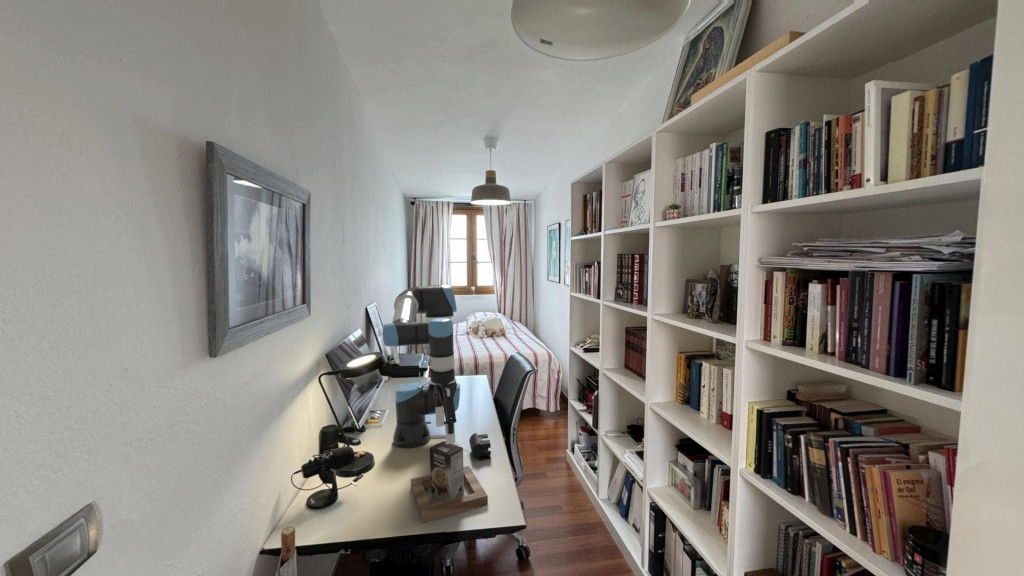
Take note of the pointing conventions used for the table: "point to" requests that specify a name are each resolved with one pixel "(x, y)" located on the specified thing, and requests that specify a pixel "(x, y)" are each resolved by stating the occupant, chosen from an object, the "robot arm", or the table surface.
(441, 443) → the coffee box
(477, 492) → the walnut hole plate
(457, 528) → the table surface
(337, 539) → the table surface
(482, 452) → the end cap
